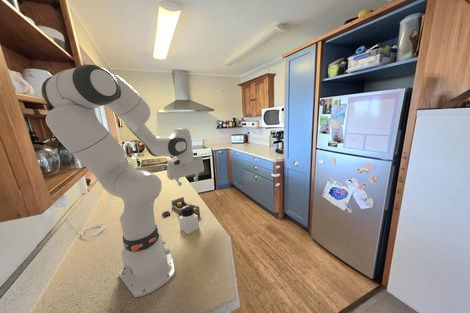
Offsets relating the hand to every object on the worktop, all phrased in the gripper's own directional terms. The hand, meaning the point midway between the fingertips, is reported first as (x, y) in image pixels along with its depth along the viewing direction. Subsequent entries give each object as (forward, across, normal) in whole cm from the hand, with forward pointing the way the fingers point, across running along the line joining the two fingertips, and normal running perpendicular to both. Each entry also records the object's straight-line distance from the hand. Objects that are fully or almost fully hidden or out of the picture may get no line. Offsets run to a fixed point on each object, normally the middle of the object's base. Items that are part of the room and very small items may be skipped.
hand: (188, 183), depth 98 cm
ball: (+19, 0, -17) cm, 26 cm away
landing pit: (+21, 0, -15) cm, 26 cm away
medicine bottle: (+21, +6, +9) cm, 24 cm away
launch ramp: (+21, 0, -4) cm, 21 cm away
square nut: (+21, +10, -14) cm, 27 cm away
